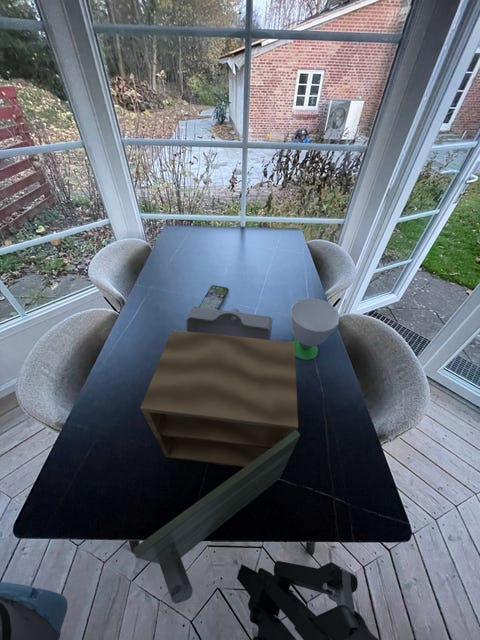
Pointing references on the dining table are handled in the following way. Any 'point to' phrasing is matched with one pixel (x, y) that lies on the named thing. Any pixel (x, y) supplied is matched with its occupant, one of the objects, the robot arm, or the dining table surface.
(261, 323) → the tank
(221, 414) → the cupboard
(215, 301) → the smartphone
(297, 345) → the cup
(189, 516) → the cupboard door
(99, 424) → the dining table surface
